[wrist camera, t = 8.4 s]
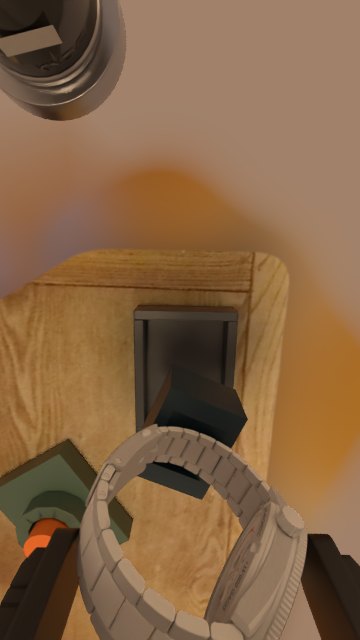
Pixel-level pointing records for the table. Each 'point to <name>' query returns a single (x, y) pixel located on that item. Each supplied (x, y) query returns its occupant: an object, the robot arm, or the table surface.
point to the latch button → (42, 534)
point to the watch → (194, 479)
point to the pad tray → (181, 347)
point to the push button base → (55, 493)
